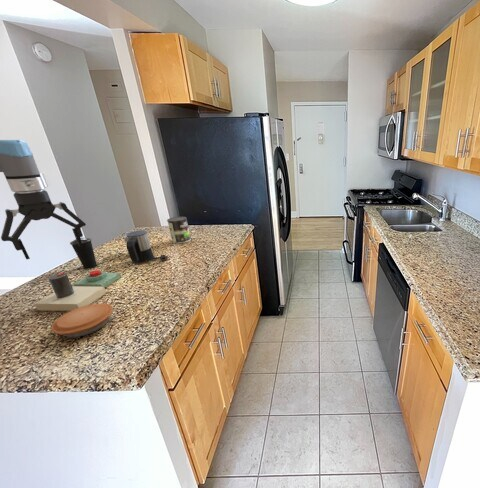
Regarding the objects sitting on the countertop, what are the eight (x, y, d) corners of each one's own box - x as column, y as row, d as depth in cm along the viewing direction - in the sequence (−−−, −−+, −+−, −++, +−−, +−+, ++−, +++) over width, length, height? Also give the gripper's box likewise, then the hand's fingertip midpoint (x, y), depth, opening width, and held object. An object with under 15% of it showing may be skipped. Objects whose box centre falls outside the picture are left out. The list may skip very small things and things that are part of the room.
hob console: (37, 310, 95) (33, 303, 94) (68, 292, 106) (65, 285, 105) (79, 311, 95) (76, 303, 93) (106, 293, 106) (103, 286, 105)
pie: (49, 330, 85) (42, 318, 83) (106, 306, 97) (101, 295, 95) (63, 350, 77) (57, 336, 75) (123, 321, 89) (119, 309, 87)
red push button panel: (74, 288, 109) (71, 280, 107) (95, 276, 118) (92, 269, 117) (102, 288, 109) (99, 280, 107) (120, 277, 118) (118, 269, 116)
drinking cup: (100, 261, 133) (86, 224, 125) (100, 267, 127) (86, 228, 120) (80, 266, 128) (65, 227, 121) (80, 271, 123) (63, 232, 115)
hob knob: (65, 298, 97) (57, 278, 94) (52, 298, 97) (43, 278, 94) (77, 291, 101) (70, 272, 98) (65, 290, 102) (57, 272, 99)
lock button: (88, 277, 110) (87, 273, 110) (95, 273, 114) (94, 269, 113) (96, 277, 110) (95, 273, 110) (103, 273, 114) (102, 269, 113)
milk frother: (135, 257, 137) (127, 231, 131) (169, 252, 144) (162, 227, 138) (130, 269, 125) (121, 240, 120) (168, 262, 132) (161, 235, 126)
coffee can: (194, 238, 164) (190, 216, 159) (183, 244, 155) (178, 221, 150) (179, 237, 166) (175, 216, 161) (168, 243, 156) (162, 220, 151)
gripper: (-33, 199, 72) (2, 267, 80) (83, 187, 91) (102, 243, 98) (-34, 196, 76) (0, 261, 84) (77, 185, 95) (96, 239, 103)
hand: (55, 251), depth 91 cm, fingers open, 13 cm apart
